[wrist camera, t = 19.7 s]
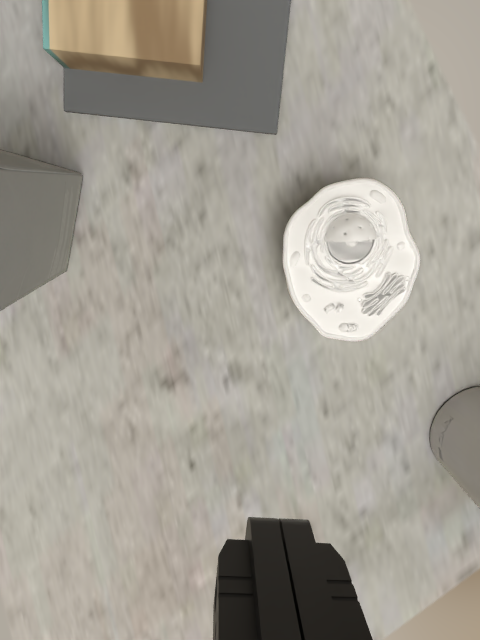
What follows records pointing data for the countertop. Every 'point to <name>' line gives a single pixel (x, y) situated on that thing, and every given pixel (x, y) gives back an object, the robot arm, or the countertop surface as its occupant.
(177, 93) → the mat
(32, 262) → the skincare box
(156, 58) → the block
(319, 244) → the cell model
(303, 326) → the countertop surface
